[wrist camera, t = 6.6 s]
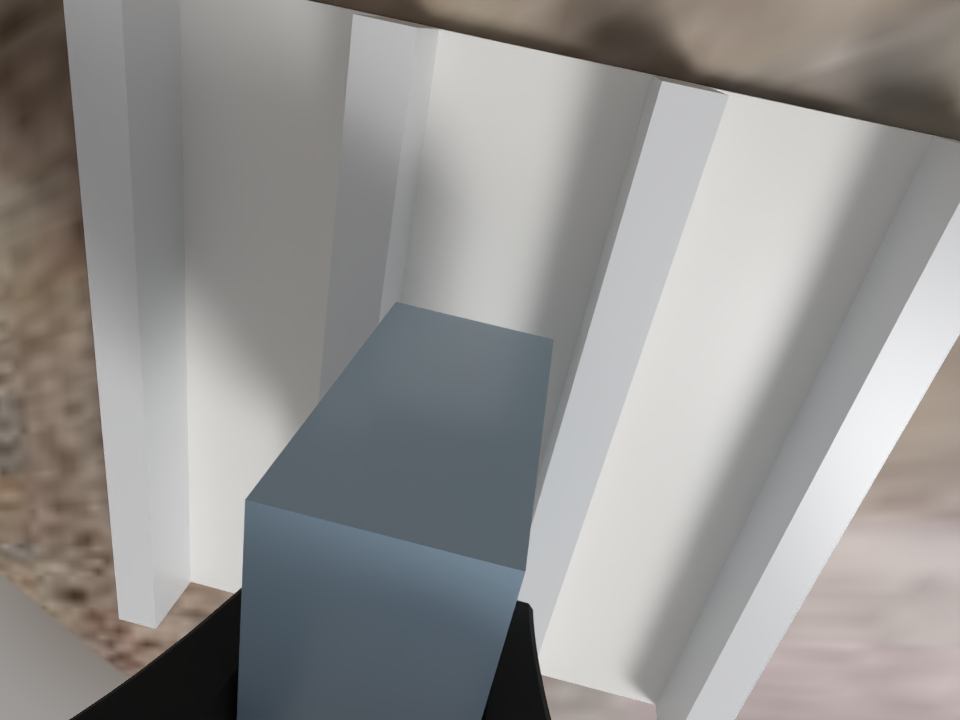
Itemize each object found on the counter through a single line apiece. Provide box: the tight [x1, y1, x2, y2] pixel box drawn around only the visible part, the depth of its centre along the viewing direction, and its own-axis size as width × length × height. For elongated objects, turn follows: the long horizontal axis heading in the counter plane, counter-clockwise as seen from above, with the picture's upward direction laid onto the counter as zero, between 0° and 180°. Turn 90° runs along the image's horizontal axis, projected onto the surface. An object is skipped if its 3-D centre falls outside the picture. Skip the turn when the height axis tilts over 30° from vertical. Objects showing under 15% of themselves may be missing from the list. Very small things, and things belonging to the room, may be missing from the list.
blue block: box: [237, 302, 554, 720], centre depth 11 cm, size 3×8×6 cm, turn 169°
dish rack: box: [63, 0, 960, 720], centre depth 17 cm, size 18×18×2 cm
